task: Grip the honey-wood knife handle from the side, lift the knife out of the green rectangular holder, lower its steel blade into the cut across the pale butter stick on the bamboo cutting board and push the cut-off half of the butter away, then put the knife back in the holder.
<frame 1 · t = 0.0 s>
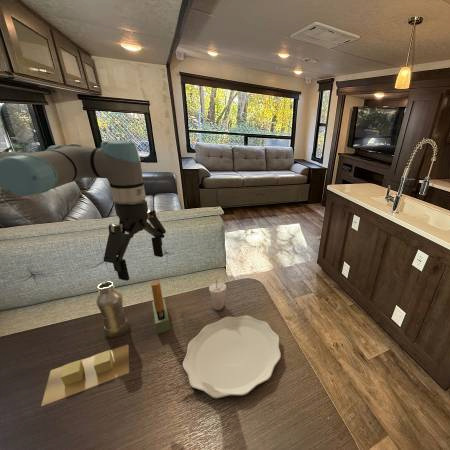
hand: (142, 266, 75), 26 cm above the table, tool pointing down, fingers open, 13 cm apart
plate: (234, 354, 80), on the table
plastic bottle: (118, 334, 83), on the table
butter right: (105, 366, 71), point 1 cm above the table, touching cutting board
smoothie: (218, 307, 99), on the table
butter left: (74, 376, 67), point 1 cm above the table, touching cutting board
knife: (158, 303, 85), in the green rectangular holder
green rectangular holder: (162, 322, 89), on the table
cutting board: (91, 375, 70), on the table
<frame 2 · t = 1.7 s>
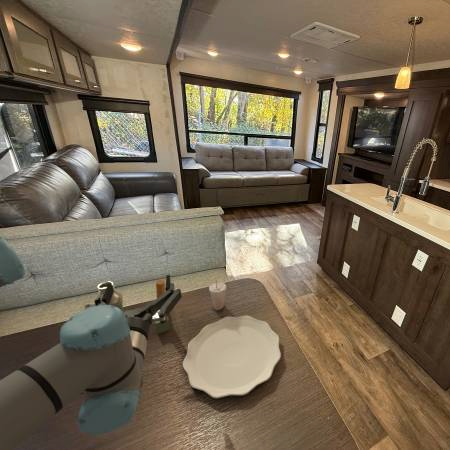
hand: (141, 282, 68), 26 cm above the table, tool horizontal, fingers open, 13 cm apart
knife: (161, 303, 86), in the green rectangular holder
everything else where it was.
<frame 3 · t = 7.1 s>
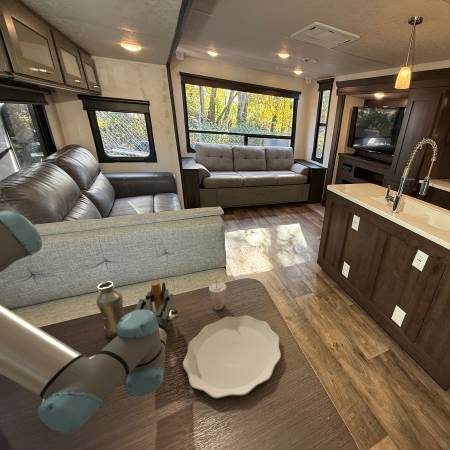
hand: (159, 286, 89), 12 cm above the table, tool horizontal, fingers closed on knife, 3 cm apart
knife: (158, 303, 85), in the green rectangular holder, touching gripper
everything else where it was.
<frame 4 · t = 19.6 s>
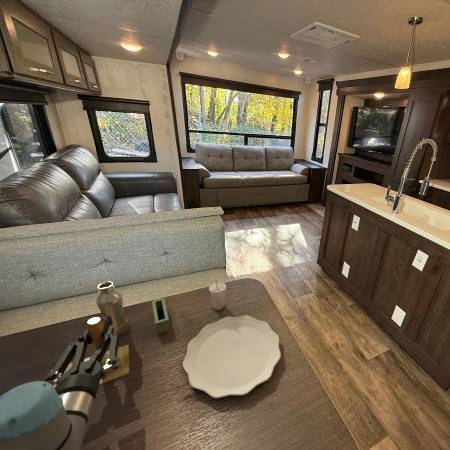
hand: (103, 321, 70), 14 cm above the table, tool horizontal, fingers closed on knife, 3 cm apart
butter right: (115, 362, 72), point 1 cm above the table, touching cutting board, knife
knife: (99, 345, 67), point 10 cm above the table, touching butter right, cutting board, gripper
everything else where it was.
when the fingers open (12 cm above the table, at t = 34.1 s): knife stays where it is, resting on green rectangular holder.
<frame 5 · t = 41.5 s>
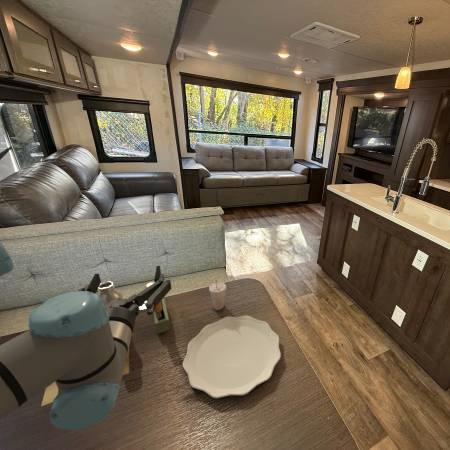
hand: (129, 273, 65), 30 cm above the table, tool horizontal, fingers open, 13 cm apart
butter right: (118, 362, 72), point 1 cm above the table, touching cutting board
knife: (156, 304, 85), in the green rectangular holder
everything else where it was.
at the end: butter right inside the target area on the cutting board (0.7 cm from its centre), point 1.5 cm above the cutting board's base; butter left inside the target area on the cutting board (1.1 cm from its centre), point 1.5 cm above the cutting board's base; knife 0.2 cm off-centre on the green rectangular holder, point 8.7 cm above the green rectangular holder's base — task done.
